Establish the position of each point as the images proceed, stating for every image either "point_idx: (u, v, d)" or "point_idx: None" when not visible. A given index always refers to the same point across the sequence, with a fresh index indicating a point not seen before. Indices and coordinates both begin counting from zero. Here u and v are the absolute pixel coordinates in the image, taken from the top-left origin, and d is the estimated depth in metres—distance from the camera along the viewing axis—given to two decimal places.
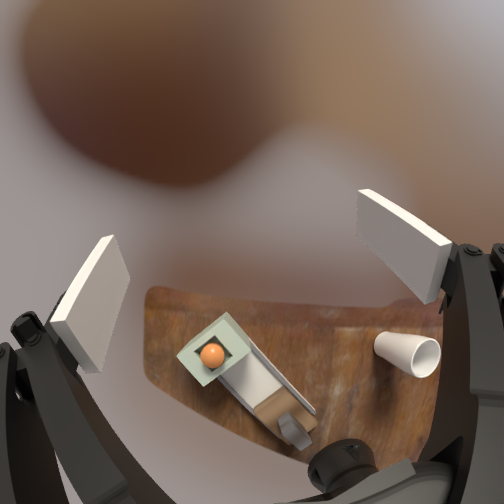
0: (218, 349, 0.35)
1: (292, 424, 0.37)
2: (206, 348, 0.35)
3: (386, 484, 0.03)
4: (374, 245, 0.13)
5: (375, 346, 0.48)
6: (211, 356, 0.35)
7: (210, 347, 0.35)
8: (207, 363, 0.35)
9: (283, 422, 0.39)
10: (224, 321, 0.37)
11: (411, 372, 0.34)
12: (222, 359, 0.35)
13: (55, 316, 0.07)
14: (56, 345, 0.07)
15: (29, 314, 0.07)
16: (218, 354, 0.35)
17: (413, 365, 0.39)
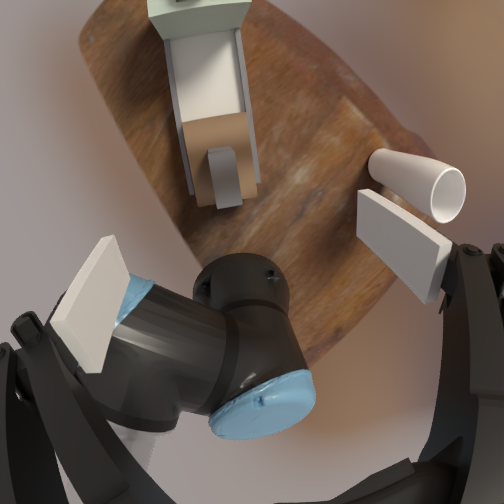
0: None
1: (231, 151, 0.24)
2: None
3: (386, 484, 0.03)
4: (374, 245, 0.13)
5: (374, 155, 0.35)
6: None
7: None
8: None
9: (216, 150, 0.26)
10: None
11: (428, 195, 0.24)
12: None
13: (55, 316, 0.07)
14: (56, 345, 0.07)
15: (29, 314, 0.07)
16: None
17: None
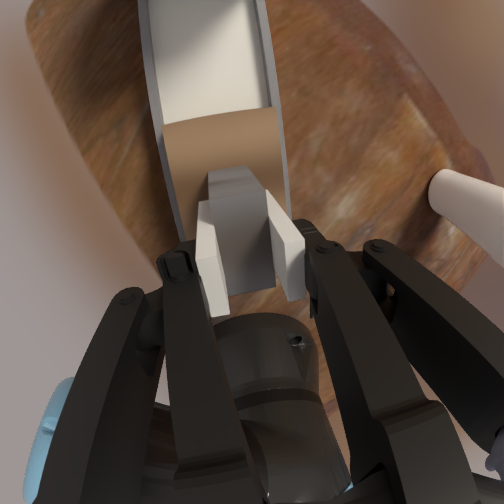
0: None
1: (257, 185, 0.12)
2: None
3: (386, 484, 0.03)
4: None
5: (438, 179, 0.23)
6: None
7: None
8: None
9: (224, 178, 0.14)
10: None
11: None
12: None
13: (200, 255, 0.10)
14: (202, 288, 0.09)
15: (183, 251, 0.09)
16: None
17: None
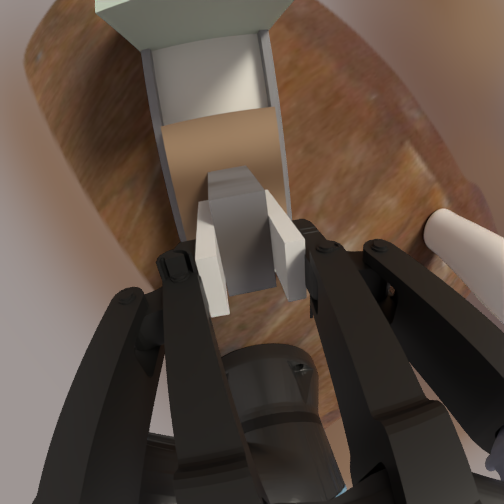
0: None
1: (256, 185, 0.12)
2: None
3: (386, 484, 0.03)
4: None
5: (434, 221, 0.25)
6: None
7: None
8: None
9: (224, 178, 0.14)
10: None
11: None
12: None
13: (199, 255, 0.10)
14: (202, 289, 0.09)
15: (182, 250, 0.09)
16: None
17: None
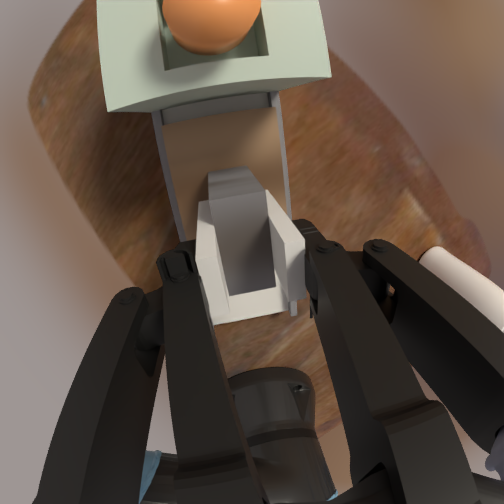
0: None
1: (257, 186, 0.12)
2: None
3: (386, 484, 0.03)
4: None
5: (426, 259, 0.28)
6: (211, 0, 0.06)
7: None
8: (178, 13, 0.06)
9: (224, 178, 0.14)
10: None
11: None
12: (243, 24, 0.06)
13: (200, 255, 0.10)
14: (202, 288, 0.09)
15: (182, 250, 0.09)
16: (241, 2, 0.06)
17: None
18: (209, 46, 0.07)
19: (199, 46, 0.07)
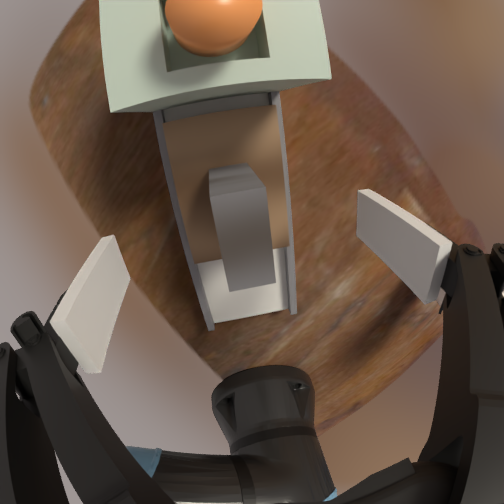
0: None
1: (257, 182, 0.12)
2: None
3: (386, 484, 0.03)
4: (374, 245, 0.13)
5: None
6: (214, 2, 0.06)
7: None
8: (180, 16, 0.06)
9: (225, 175, 0.14)
10: None
11: None
12: (245, 27, 0.07)
13: (55, 316, 0.07)
14: (56, 345, 0.07)
15: (29, 314, 0.07)
16: (243, 5, 0.06)
17: None
18: (211, 48, 0.07)
19: (201, 48, 0.07)
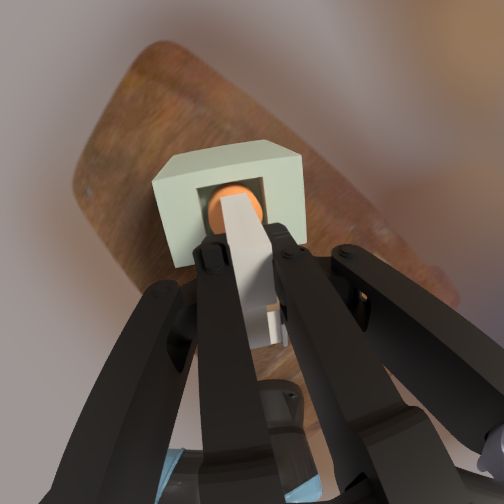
0: (258, 208, 0.16)
1: None
2: None
3: None
4: None
5: None
6: None
7: None
8: (218, 225, 0.16)
9: None
10: (298, 161, 0.16)
11: None
12: None
13: (233, 247, 0.10)
14: None
15: (219, 243, 0.09)
16: None
17: None
18: None
19: None
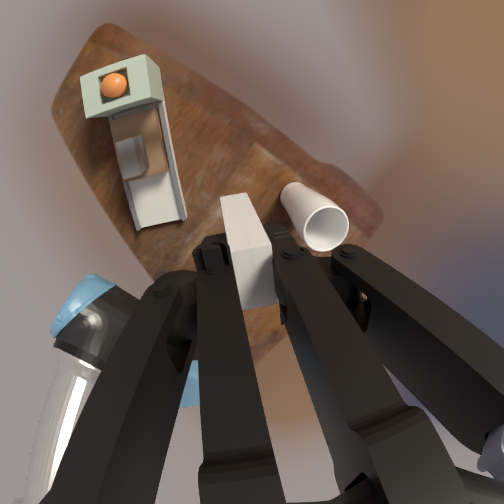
0: (122, 79, 0.25)
1: (133, 137, 0.30)
2: (112, 74, 0.24)
3: None
4: None
5: (284, 190, 0.46)
6: (112, 84, 0.25)
7: (116, 74, 0.25)
8: (104, 90, 0.25)
9: (128, 138, 0.32)
10: (143, 56, 0.25)
11: (302, 230, 0.35)
12: (119, 90, 0.26)
13: (233, 247, 0.10)
14: None
15: (219, 243, 0.09)
16: (119, 84, 0.25)
17: (309, 233, 0.41)
18: (114, 97, 0.27)
19: (112, 97, 0.27)
